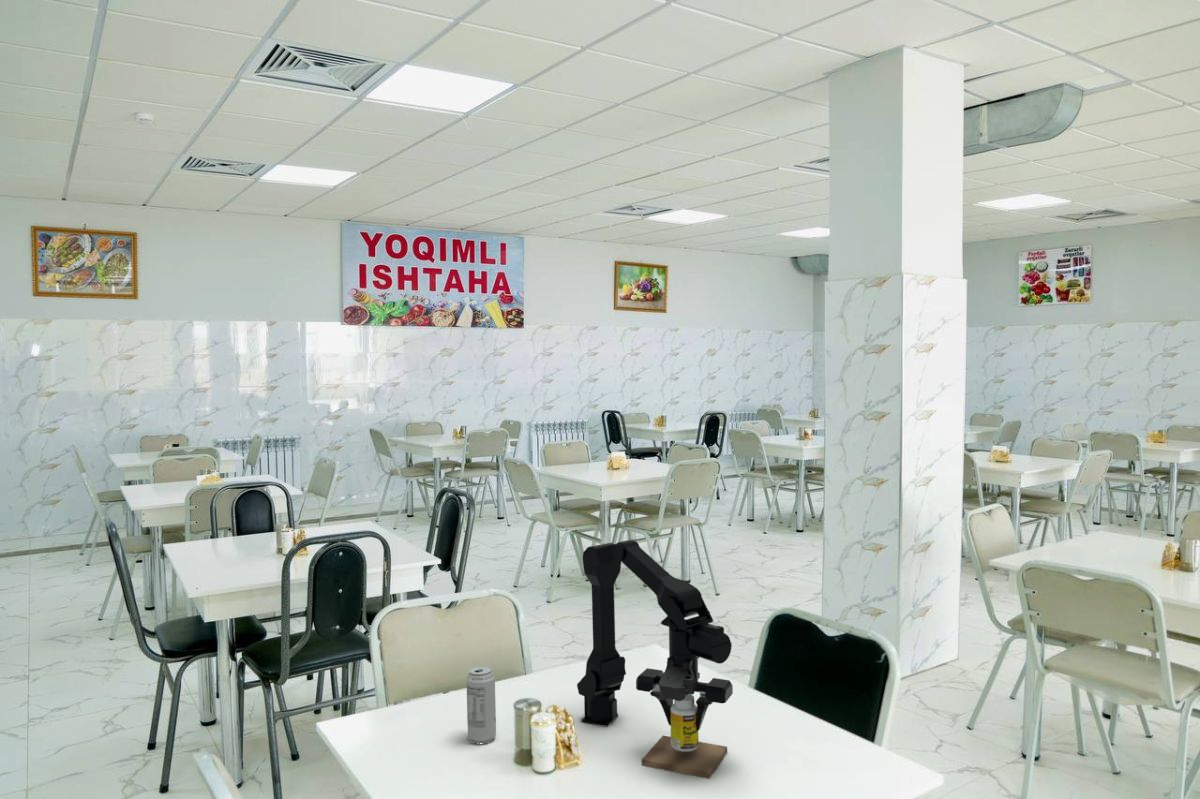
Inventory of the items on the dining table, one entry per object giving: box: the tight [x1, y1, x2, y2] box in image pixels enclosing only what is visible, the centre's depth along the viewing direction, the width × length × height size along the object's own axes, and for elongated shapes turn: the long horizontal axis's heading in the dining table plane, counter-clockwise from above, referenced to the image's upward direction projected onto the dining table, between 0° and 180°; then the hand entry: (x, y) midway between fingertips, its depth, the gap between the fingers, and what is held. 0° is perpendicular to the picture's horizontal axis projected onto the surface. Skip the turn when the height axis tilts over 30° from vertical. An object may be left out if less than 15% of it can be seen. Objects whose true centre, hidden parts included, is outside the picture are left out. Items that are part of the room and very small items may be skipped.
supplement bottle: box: [670, 694, 699, 752], centre depth 170 cm, size 6×6×10 cm
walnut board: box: [641, 734, 728, 779], centre depth 170 cm, size 14×12×1 cm
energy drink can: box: [466, 665, 497, 745], centre depth 181 cm, size 6×6×15 cm
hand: (684, 727), depth 170 cm, fingers closed on supplement bottle, 5 cm apart
